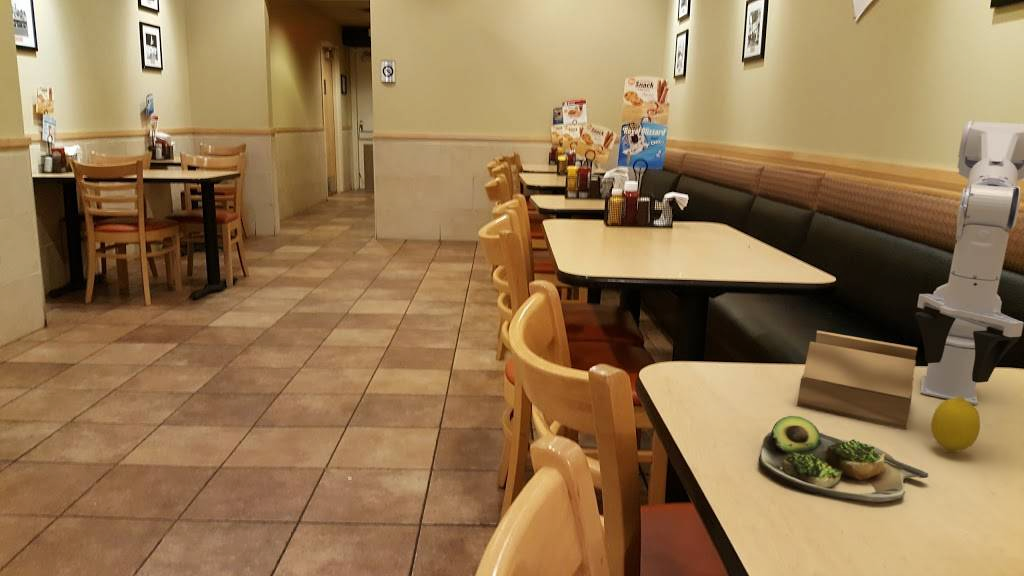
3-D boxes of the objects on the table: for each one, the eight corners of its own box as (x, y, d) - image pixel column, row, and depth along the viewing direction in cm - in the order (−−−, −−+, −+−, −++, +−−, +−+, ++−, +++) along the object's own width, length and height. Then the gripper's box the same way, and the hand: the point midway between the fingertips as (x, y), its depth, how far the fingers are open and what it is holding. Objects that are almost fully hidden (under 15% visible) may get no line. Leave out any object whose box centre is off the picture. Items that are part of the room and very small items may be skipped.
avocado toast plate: (919, 461, 98) (926, 429, 97) (934, 526, 82) (942, 488, 81) (766, 430, 105) (770, 400, 104) (753, 484, 89) (757, 449, 88)
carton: (808, 383, 124) (812, 358, 123) (908, 404, 117) (913, 377, 116) (796, 405, 114) (800, 378, 113) (905, 429, 107) (911, 400, 106)
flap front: (810, 342, 114) (810, 341, 114) (915, 361, 107) (915, 360, 107) (803, 377, 113) (803, 376, 112) (909, 398, 106) (909, 397, 106)
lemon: (980, 464, 97) (992, 407, 95) (934, 458, 98) (945, 402, 96) (964, 446, 102) (975, 392, 100) (921, 441, 103) (931, 387, 101)
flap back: (814, 356, 123) (815, 354, 123) (911, 374, 116) (912, 372, 117) (816, 332, 120) (817, 330, 120) (916, 350, 113) (917, 347, 113)
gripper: (907, 264, 104) (891, 355, 108) (1001, 289, 91) (980, 393, 94) (946, 263, 107) (929, 353, 110) (1043, 287, 93) (1021, 389, 97)
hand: (955, 371), depth 102 cm, fingers open, 7 cm apart
